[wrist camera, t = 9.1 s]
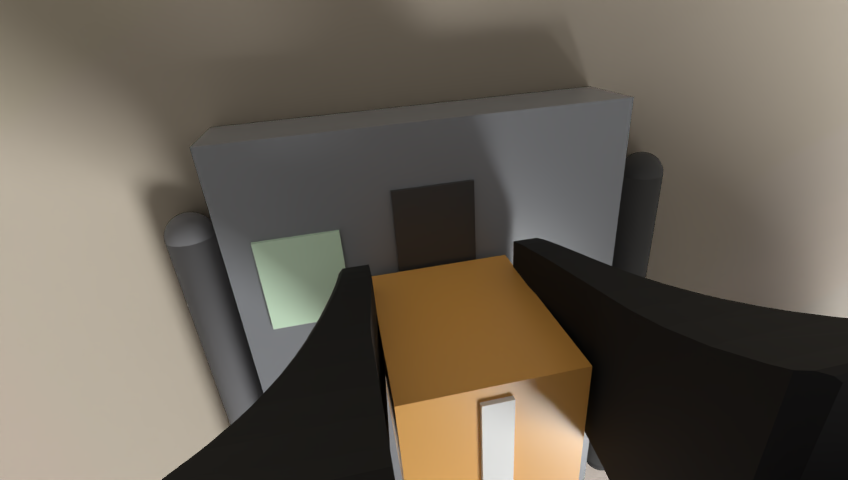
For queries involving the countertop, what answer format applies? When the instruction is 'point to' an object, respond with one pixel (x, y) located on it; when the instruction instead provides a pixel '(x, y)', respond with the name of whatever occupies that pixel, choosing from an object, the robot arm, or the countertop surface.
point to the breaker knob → (479, 375)
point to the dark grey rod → (635, 225)
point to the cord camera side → (213, 310)
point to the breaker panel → (404, 198)
